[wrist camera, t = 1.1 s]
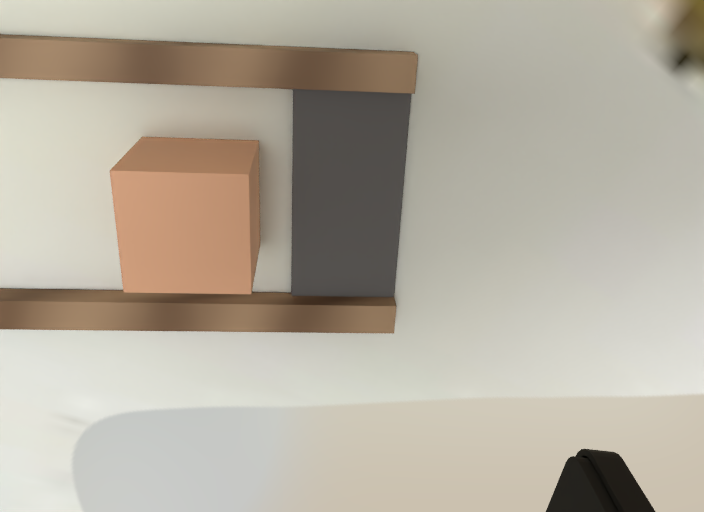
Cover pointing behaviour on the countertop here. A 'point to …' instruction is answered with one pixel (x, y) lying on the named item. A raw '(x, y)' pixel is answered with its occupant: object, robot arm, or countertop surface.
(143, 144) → the block
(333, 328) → the channel
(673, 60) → the countertop surface
